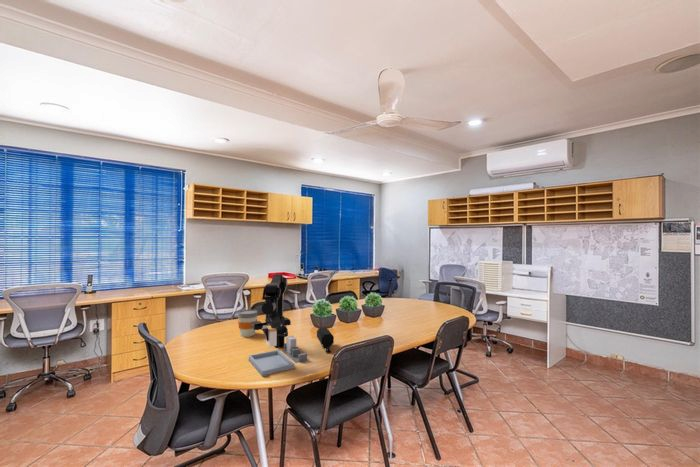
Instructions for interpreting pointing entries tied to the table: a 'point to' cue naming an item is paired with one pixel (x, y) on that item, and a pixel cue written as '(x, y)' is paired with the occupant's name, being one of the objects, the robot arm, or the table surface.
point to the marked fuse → (272, 337)
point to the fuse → (290, 343)
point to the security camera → (325, 338)
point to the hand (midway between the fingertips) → (271, 340)
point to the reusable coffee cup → (247, 322)
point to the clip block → (295, 354)
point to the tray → (270, 362)
